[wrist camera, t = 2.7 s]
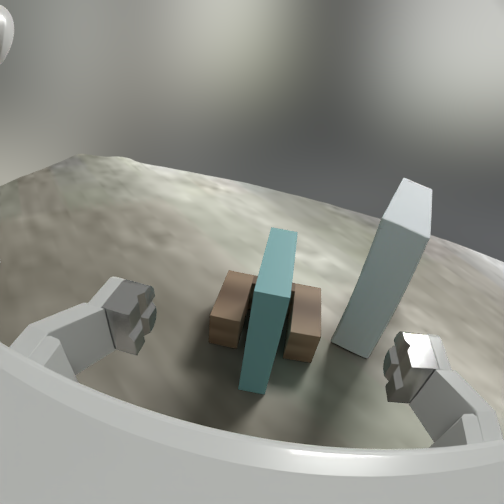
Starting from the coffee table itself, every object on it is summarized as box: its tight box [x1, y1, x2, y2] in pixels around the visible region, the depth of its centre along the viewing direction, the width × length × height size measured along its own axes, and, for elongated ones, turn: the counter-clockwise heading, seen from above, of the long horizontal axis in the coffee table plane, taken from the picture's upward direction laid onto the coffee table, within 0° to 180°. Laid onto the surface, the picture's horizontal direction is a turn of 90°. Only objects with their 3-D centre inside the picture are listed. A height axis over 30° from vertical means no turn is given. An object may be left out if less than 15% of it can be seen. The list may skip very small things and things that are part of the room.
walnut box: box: [209, 270, 321, 363], centre depth 34 cm, size 8×11×4 cm
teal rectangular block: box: [238, 227, 297, 395], centre depth 29 cm, size 10×2×12 cm, turn 170°
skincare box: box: [331, 178, 432, 358], centre depth 37 cm, size 21×5×16 cm, turn 148°
